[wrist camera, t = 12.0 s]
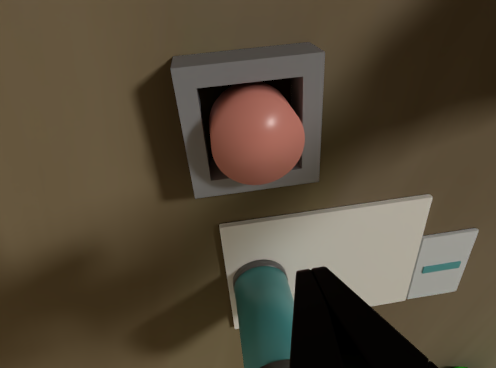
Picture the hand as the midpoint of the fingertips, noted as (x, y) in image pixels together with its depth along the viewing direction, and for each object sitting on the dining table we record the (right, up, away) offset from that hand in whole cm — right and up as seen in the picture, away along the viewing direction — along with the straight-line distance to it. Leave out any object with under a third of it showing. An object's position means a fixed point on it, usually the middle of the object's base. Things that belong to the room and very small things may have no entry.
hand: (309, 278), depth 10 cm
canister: (-1, -5, +16) cm, 17 cm away
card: (+14, -4, +19) cm, 24 cm away
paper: (+4, -4, +17) cm, 18 cm away
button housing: (-2, +7, +10) cm, 12 cm away
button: (-2, +6, +9) cm, 11 cm away
